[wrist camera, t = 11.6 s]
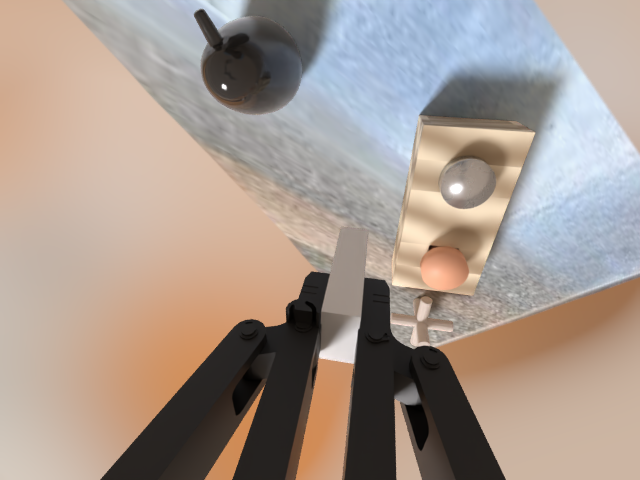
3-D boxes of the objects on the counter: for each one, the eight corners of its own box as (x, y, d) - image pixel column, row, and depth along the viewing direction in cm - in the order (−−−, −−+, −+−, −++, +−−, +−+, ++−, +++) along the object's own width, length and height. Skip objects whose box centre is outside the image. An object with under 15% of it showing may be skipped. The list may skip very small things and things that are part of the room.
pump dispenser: (291, 1, 37) (242, -20, 25) (318, 93, 42) (290, 115, 29) (219, 35, 40) (143, 31, 28) (252, 116, 45) (201, 145, 33)
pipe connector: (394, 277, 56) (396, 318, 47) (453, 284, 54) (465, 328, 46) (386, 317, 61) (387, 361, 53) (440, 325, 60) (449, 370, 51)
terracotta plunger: (421, 224, 47) (426, 251, 41) (462, 228, 47) (474, 257, 40) (413, 256, 51) (417, 287, 44) (452, 261, 50) (462, 292, 44)
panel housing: (419, 115, 41) (423, 125, 36) (516, 121, 40) (535, 132, 35) (391, 262, 54) (392, 285, 49) (464, 271, 53) (472, 295, 48)
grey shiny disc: (438, 141, 42) (447, 158, 36) (485, 144, 41) (503, 163, 35) (428, 183, 45) (435, 206, 39) (472, 187, 44) (486, 211, 38)
